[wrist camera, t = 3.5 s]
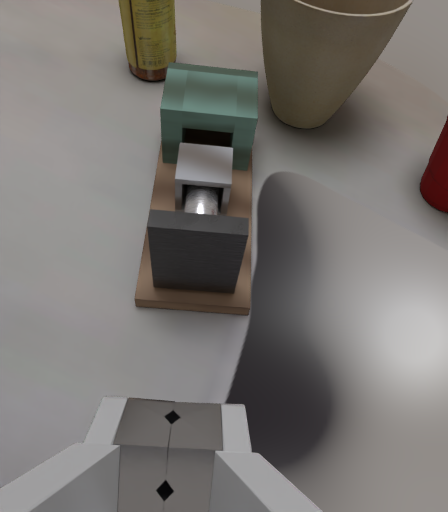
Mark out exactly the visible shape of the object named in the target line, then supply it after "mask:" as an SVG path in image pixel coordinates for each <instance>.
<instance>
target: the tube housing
mask: <svg viewBox="0 0 448 512" xmlns="http://www.w3.org/2000/svg"><path fill="white" fill-rule="evenodd" d="M160 113H161V137H162V141H161V146H160V152H159V158H158V164H157V170H156V176H155V182H154V188H153V194H152V199H151V205H150V209H155V210H166V211H177V212H184V210H185V201H186V192H187V184H188V185H198V186H209V187H219V193H218V209H217V215H221V216H232V217H243V218H249V236H248V240H247V244H246V248H245V252H244V256H243V260H242V264H241V268H240V272H239V276H238V280H237V284H236V288H235V292H234V294H231V293H219V292H206V291H194V290H181V289H169V288H157V287H153V279H152V269H151V259H150V250H149V240H148V231H147V229H146V235H145V241H144V246H143V252H142V258H141V264H140V270H139V276H138V282H137V288H136V293H135V304H136V306H139V307H151V308H164V309H177V310H190V311H203V312H216V313H229V314H241V315H248V313H249V310H250V290H251V204H252V144H253V139H254V134H255V129H256V124H257V119H258V72H255V71H246V70H236V69H227V68H218V67H209V66H200V65H191V64H181V63H172V62H169V64H168V69H167V75H166V80H165V86H164V91H163V97H162V102H161V107H160ZM149 212H150V211H149ZM148 218H149V217H148ZM147 224H148V223H147Z"/></svg>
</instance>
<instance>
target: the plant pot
mask: <svg viewBox="0 0 448 512" xmlns="http://www.w3.org/2000/svg"><path fill="white" fill-rule="evenodd" d="M412 2H413V0H261V30H262V45H263V56H264V65H265V73H266V79H267V85H268V91H269V96H270V100H271V105H272V109H273V111H274V113H275V115H276V116H277V117H278V118H279V119H280V120H281V121H283V122H284V123H286V124H288V125H290V126H293V127H297V128H305V129H309V128H315V127H318V126H321V125H323V124H324V123H325V122H326V121H327V120H328V119H329V118H330V117H331V116H332V115H333V114H334V113H335V112H336V111H337V110H338V109H339V108H340V106H341V105H342V104H343V103H344V102H345V101H346V99H347V98H348V97H349V96H350V95H351V93H352V92H353V91H354V90H355V89H356V87H357V86H358V85H359V83H360V82H361V81H362V80H363V78H364V77H365V76H366V74H367V73H368V71H369V70H370V69H371V67H372V66H373V65H374V63H375V62H376V60H377V59H378V57H379V56H380V54H381V53H382V51H383V50H384V48H385V47H386V45H387V43H388V42H389V41H390V39H391V37H392V36H393V34H394V32H395V31H396V29H397V27H398V26H399V24H400V22H401V21H402V19H403V17H404V16H405V14H406V12H407V10H408V9H409V7H410V5H411V4H412Z"/></svg>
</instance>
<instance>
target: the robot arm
mask: <svg viewBox="0 0 448 512" xmlns="http://www.w3.org/2000/svg"><path fill="white" fill-rule="evenodd" d="M0 512H323V511H321V510H320V509H319V508H318V507H317V506H316V505H315V504H314V503H313V502H312V501H310V500H309V499H308V498H307V497H306V496H305V495H304V494H303V493H302V492H301V491H299V490H298V489H297V488H296V487H295V486H294V485H293V484H292V483H291V482H290V481H289V480H287V479H286V478H285V477H284V476H283V475H282V474H281V473H280V472H279V471H277V470H276V469H275V468H274V467H273V466H272V465H271V464H269V462H268V461H267V460H265V459H264V458H263V457H262V456H261V455H260V454H259V453H252V451H251V444H250V437H249V431H248V424H247V418H246V411H245V406H244V405H243V404H214V403H187V402H175V401H164V400H152V399H141V398H127V397H115V396H105V397H104V398H102V400H101V402H100V405H99V407H98V409H97V411H96V414H95V416H94V418H93V420H92V423H91V425H90V427H89V430H88V432H87V434H86V436H85V439H84V441H83V443H74V444H72V445H71V446H69V447H68V448H66V449H64V450H63V451H61V452H59V453H58V454H56V455H54V456H53V457H51V458H49V459H48V460H46V461H45V462H43V463H41V464H40V465H38V466H36V467H35V468H33V469H31V470H30V471H28V472H26V473H25V474H23V475H22V476H20V477H18V478H17V479H15V480H13V481H12V482H10V483H8V484H7V485H5V486H4V487H2V488H0Z"/></svg>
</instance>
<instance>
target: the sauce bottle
mask: <svg viewBox="0 0 448 512" xmlns="http://www.w3.org/2000/svg"><path fill="white" fill-rule="evenodd" d="M119 6H120V13H121V20H122V26H123V34H124V41H125V47H126V54H127V59H128V61H129V68H130V70H131V71H132V72H133V73H134V74H135V75H136V76H138V77H139V78H141V79H145V80H152V81H157V80H161V79H165V78H166V75H167V69H168V64H169V62H172V63H175V61H176V30H175V7H174V0H119Z"/></svg>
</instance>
